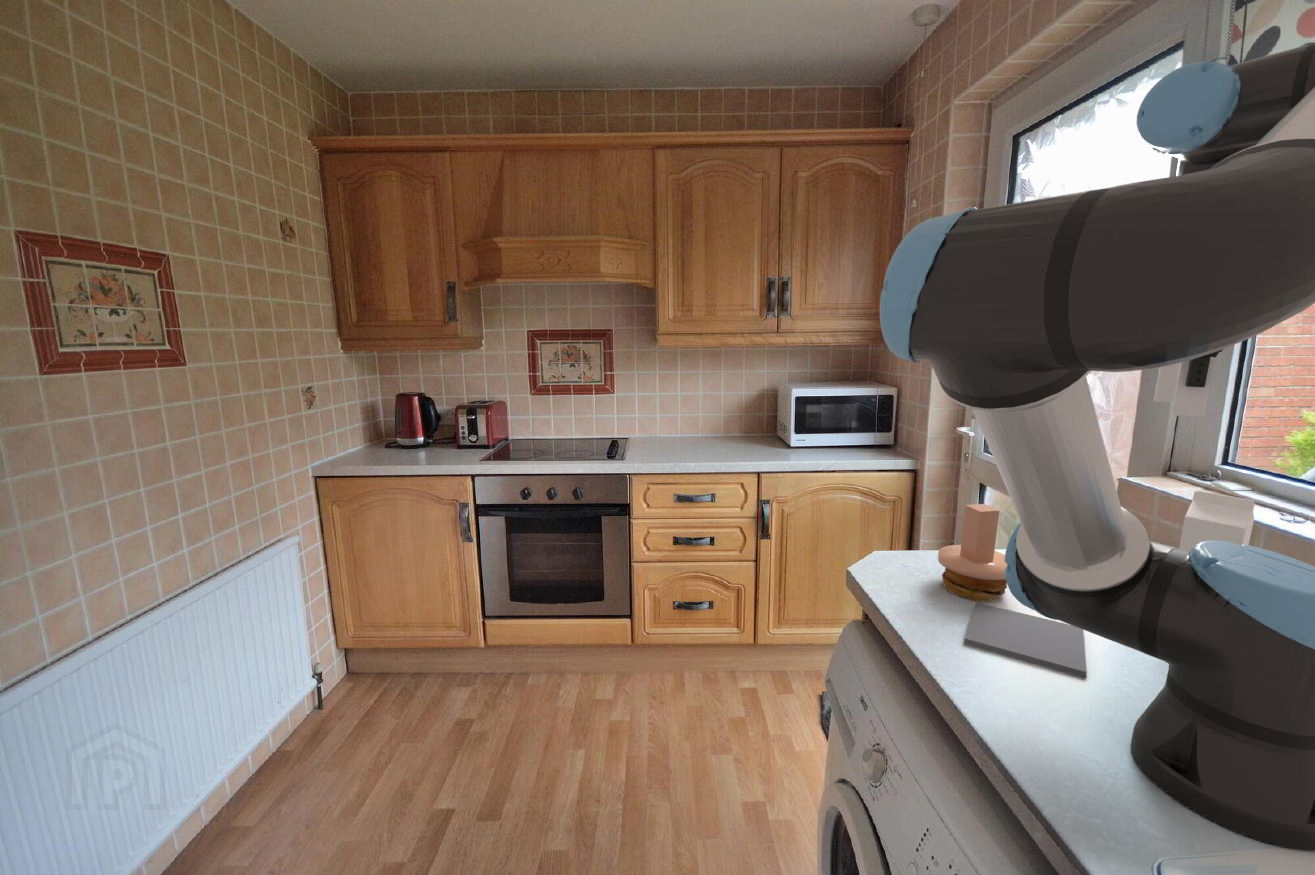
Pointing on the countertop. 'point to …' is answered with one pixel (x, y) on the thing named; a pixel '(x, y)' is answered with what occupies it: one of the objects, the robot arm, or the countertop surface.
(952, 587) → the burger
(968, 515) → the lid
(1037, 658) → the mat
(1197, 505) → the milk
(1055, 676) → the countertop surface
